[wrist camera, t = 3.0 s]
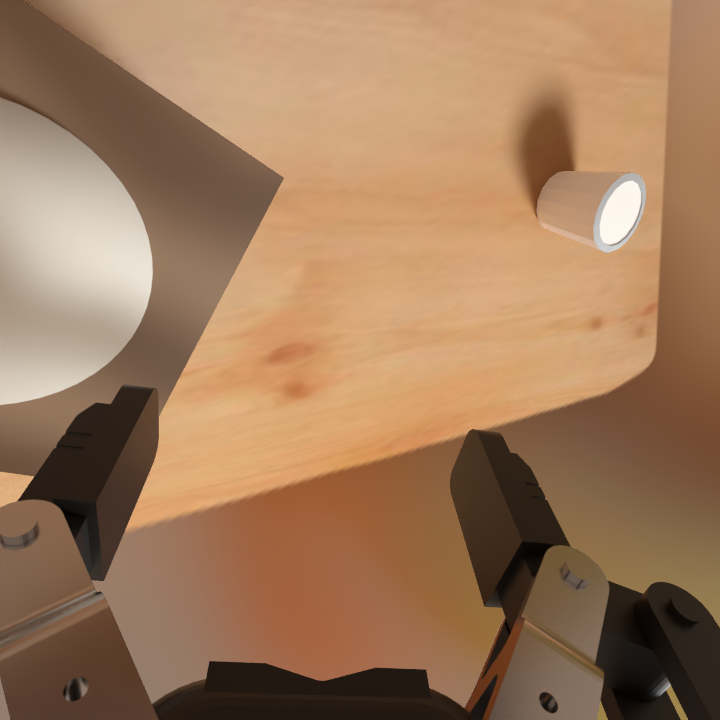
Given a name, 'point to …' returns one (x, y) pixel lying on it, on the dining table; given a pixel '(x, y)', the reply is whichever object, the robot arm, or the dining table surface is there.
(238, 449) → the dining table surface
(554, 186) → the shot glass
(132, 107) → the lamp housing
